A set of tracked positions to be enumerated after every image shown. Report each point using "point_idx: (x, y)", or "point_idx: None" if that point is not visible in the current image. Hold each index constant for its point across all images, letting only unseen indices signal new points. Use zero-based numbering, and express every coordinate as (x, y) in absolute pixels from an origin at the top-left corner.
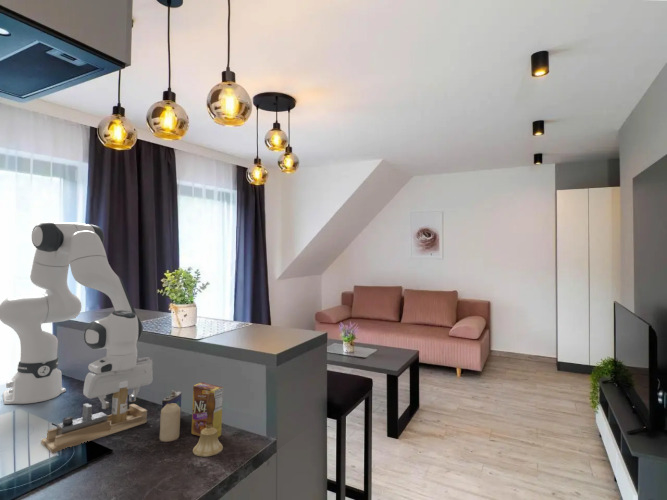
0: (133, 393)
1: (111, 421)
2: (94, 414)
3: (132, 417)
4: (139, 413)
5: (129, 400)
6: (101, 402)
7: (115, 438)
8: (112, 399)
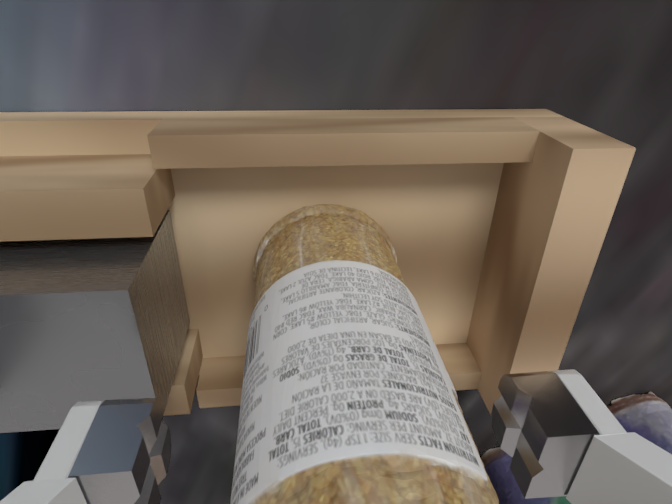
0: (615, 488)
1: (257, 266)
2: (16, 313)
3: (467, 243)
4: (492, 356)
5: (503, 394)
6: (22, 489)
7: (211, 424)
8: (232, 489)
